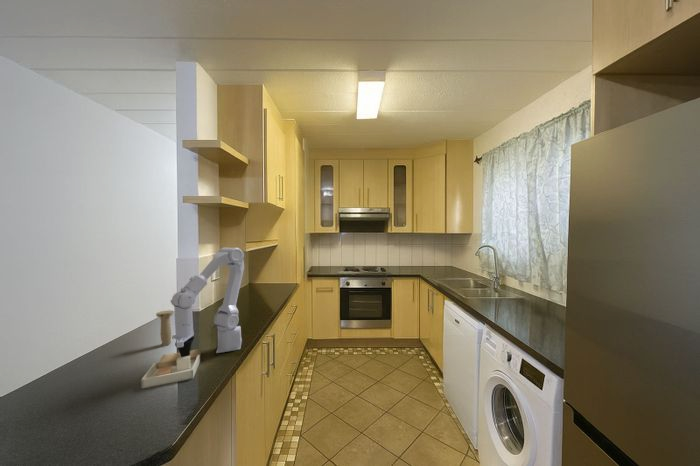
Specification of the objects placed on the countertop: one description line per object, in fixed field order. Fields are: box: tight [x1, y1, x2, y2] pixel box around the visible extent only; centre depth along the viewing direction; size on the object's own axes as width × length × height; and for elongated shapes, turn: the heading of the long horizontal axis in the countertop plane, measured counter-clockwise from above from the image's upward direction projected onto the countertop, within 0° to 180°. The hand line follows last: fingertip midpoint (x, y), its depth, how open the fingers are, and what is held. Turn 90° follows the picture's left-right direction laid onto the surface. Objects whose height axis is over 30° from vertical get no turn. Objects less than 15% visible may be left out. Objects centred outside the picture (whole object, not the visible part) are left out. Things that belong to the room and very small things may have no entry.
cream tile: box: [177, 356, 191, 371], centre depth 97 cm, size 4×4×2 cm
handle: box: [155, 309, 174, 347], centre depth 119 cm, size 5×6×15 cm
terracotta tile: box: [156, 366, 172, 376], centre depth 92 cm, size 4×4×2 cm
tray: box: [140, 355, 201, 390], centre depth 94 cm, size 15×12×3 cm
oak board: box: [156, 348, 202, 369], centre depth 103 cm, size 13×7×2 cm, turn 110°
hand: (185, 358), depth 99 cm, fingers closed
